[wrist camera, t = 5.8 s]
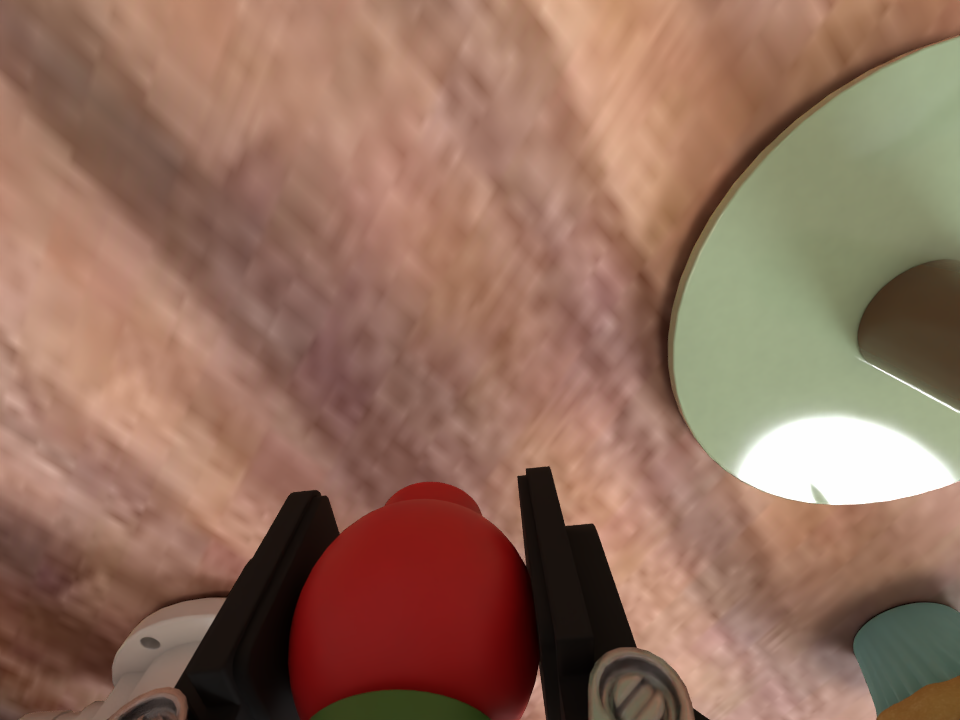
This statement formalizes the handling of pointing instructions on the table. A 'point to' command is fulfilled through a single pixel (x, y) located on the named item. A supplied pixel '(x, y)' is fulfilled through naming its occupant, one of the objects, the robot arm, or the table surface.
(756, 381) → the lid
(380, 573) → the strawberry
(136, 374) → the table surface
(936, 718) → the sprinkled cake with candle
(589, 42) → the table surface
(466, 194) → the table surface
